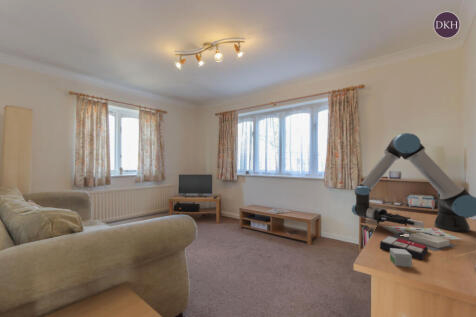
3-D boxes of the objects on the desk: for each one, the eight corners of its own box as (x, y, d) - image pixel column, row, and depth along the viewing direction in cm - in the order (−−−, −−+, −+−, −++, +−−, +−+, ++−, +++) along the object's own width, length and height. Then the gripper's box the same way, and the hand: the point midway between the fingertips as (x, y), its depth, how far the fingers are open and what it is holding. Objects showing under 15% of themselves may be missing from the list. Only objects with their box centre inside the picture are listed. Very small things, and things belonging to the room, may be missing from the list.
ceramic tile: (420, 232, 113) (449, 240, 102) (420, 237, 113) (449, 246, 101) (409, 234, 110) (438, 242, 98) (409, 239, 109) (438, 248, 98)
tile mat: (410, 233, 121) (410, 232, 121) (458, 246, 102) (458, 245, 102) (388, 237, 115) (388, 236, 115) (434, 252, 96) (434, 251, 96)
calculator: (422, 252, 88) (380, 239, 100) (421, 262, 88) (379, 249, 100) (428, 245, 95) (388, 234, 107) (427, 255, 95) (387, 243, 107)
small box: (389, 259, 89) (389, 247, 89) (406, 261, 87) (405, 249, 87) (394, 265, 84) (394, 253, 84) (412, 268, 82) (412, 255, 82)
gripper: (384, 219, 132) (430, 231, 110) (369, 221, 127) (414, 234, 105) (384, 207, 132) (430, 216, 110) (369, 208, 128) (414, 218, 106)
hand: (422, 225), depth 108 cm, fingers closed
